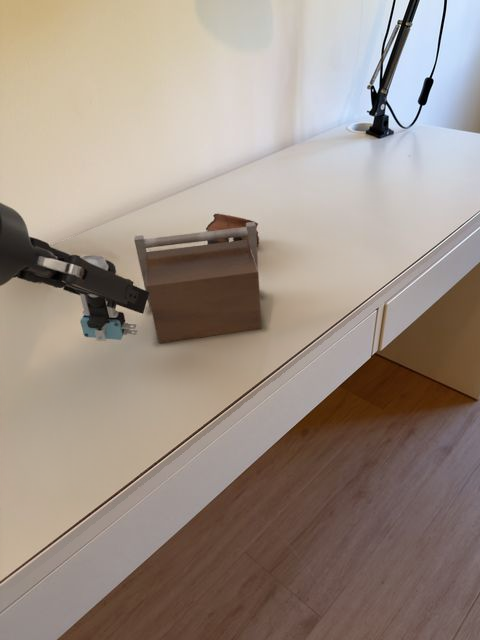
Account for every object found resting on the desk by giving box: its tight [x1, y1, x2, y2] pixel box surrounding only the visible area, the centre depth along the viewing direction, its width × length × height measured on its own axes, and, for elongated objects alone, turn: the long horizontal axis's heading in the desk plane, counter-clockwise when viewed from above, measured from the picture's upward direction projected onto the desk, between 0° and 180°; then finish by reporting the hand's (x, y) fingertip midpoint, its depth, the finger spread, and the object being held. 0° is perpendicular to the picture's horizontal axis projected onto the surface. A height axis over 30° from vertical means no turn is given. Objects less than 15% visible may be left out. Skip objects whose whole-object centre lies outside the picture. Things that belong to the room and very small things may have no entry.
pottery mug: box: [205, 213, 260, 248], centre depth 86 cm, size 12×10×8 cm
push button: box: [73, 254, 139, 342], centre depth 61 cm, size 7×5×10 cm
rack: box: [133, 221, 262, 344], centre depth 71 cm, size 9×16×12 cm, turn 100°
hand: (123, 297), depth 65 cm, fingers closed on push button, 5 cm apart
